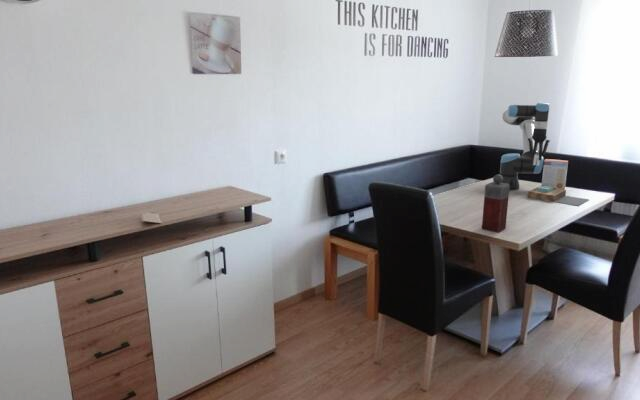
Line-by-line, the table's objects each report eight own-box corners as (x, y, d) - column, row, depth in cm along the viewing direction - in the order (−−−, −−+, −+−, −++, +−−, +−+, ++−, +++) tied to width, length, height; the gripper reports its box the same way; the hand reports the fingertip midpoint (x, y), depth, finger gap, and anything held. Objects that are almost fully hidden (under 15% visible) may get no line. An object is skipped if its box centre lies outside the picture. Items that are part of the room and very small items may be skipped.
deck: (527, 197, 302) (528, 191, 301) (539, 192, 316) (540, 186, 315) (553, 201, 292) (554, 195, 291) (565, 196, 305) (566, 190, 304)
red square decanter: (507, 227, 244) (512, 173, 237) (498, 232, 236) (503, 177, 229) (490, 224, 250) (495, 171, 243) (481, 229, 242) (485, 174, 235)
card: (537, 190, 302) (538, 187, 302) (543, 188, 309) (543, 185, 308) (547, 192, 298) (548, 189, 298) (553, 190, 305) (553, 186, 304)
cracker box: (564, 191, 318) (568, 160, 312) (563, 193, 313) (567, 161, 307) (541, 188, 325) (545, 158, 320) (540, 190, 320) (544, 159, 315)
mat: (553, 201, 292) (553, 201, 291) (565, 196, 305) (565, 195, 305) (578, 206, 282) (578, 205, 282) (589, 199, 296) (589, 199, 296)
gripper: (526, 127, 301) (522, 164, 307) (549, 129, 291) (545, 167, 297) (531, 126, 306) (527, 162, 312) (554, 128, 296) (550, 165, 302)
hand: (536, 165), depth 305 cm, fingers closed
